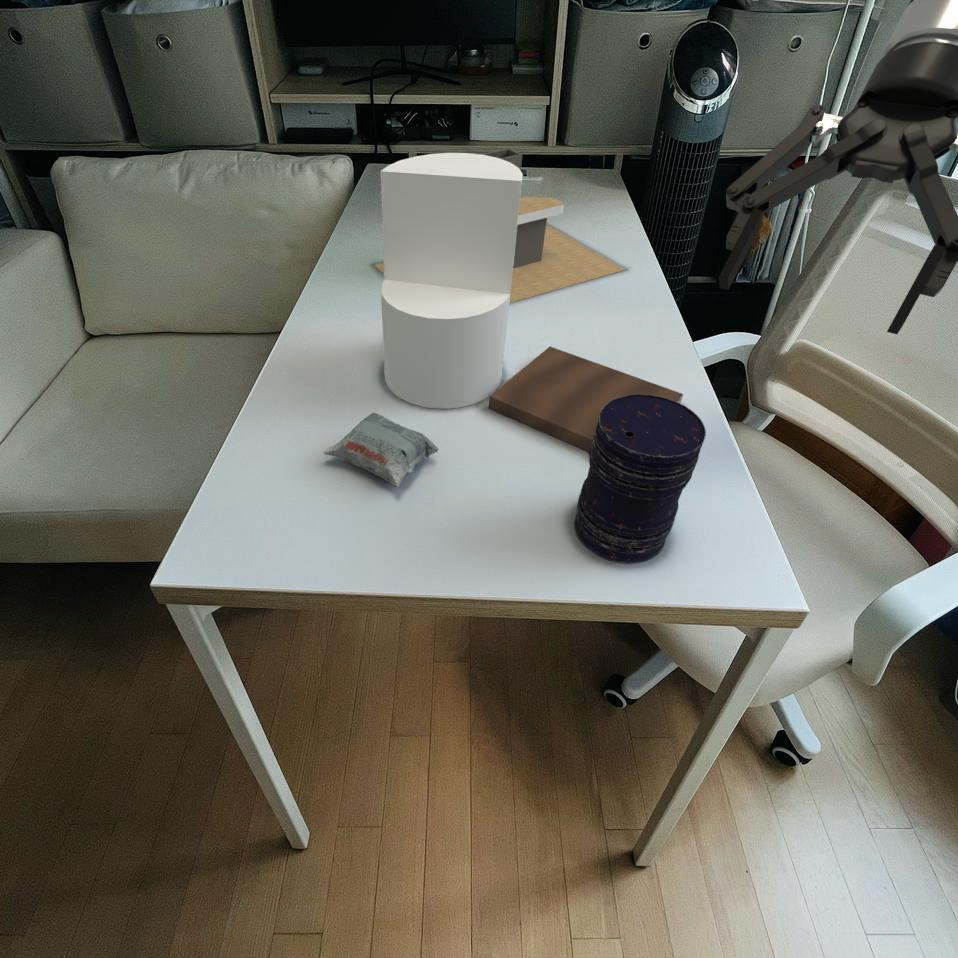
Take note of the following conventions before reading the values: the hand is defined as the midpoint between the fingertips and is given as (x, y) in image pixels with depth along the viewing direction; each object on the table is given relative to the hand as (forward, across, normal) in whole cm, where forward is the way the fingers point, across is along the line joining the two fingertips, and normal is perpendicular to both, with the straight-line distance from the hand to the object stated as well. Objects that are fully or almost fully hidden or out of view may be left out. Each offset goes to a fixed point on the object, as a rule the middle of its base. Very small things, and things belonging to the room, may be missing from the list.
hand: (803, 304), depth 57 cm
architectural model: (-9, +53, -46) cm, 71 cm away
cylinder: (+15, +41, -22) cm, 49 cm away
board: (+12, +21, -25) cm, 34 cm away
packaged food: (+30, +35, -6) cm, 47 cm away
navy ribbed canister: (+25, +7, -12) cm, 28 cm away
